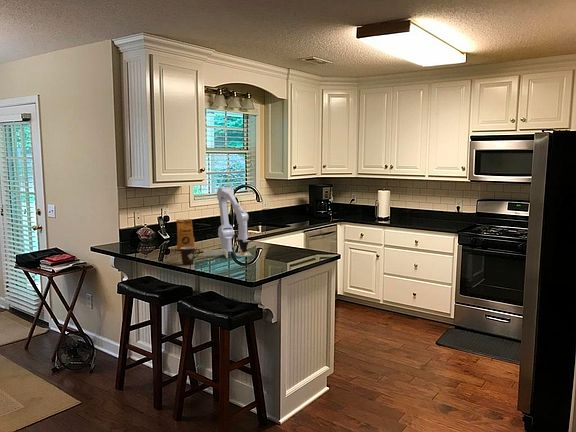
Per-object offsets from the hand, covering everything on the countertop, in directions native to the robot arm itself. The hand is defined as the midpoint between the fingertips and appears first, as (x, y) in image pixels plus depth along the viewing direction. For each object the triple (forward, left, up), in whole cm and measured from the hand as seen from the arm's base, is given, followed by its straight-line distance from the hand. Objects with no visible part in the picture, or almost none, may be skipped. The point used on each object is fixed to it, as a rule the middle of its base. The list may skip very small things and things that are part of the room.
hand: (243, 251), depth 310 cm
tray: (0, 0, -3) cm, 3 cm away
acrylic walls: (+1, -18, -3) cm, 18 cm away
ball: (0, 0, -2) cm, 2 cm away
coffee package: (-32, -36, -3) cm, 48 cm away
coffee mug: (+18, -35, -3) cm, 39 cm away
